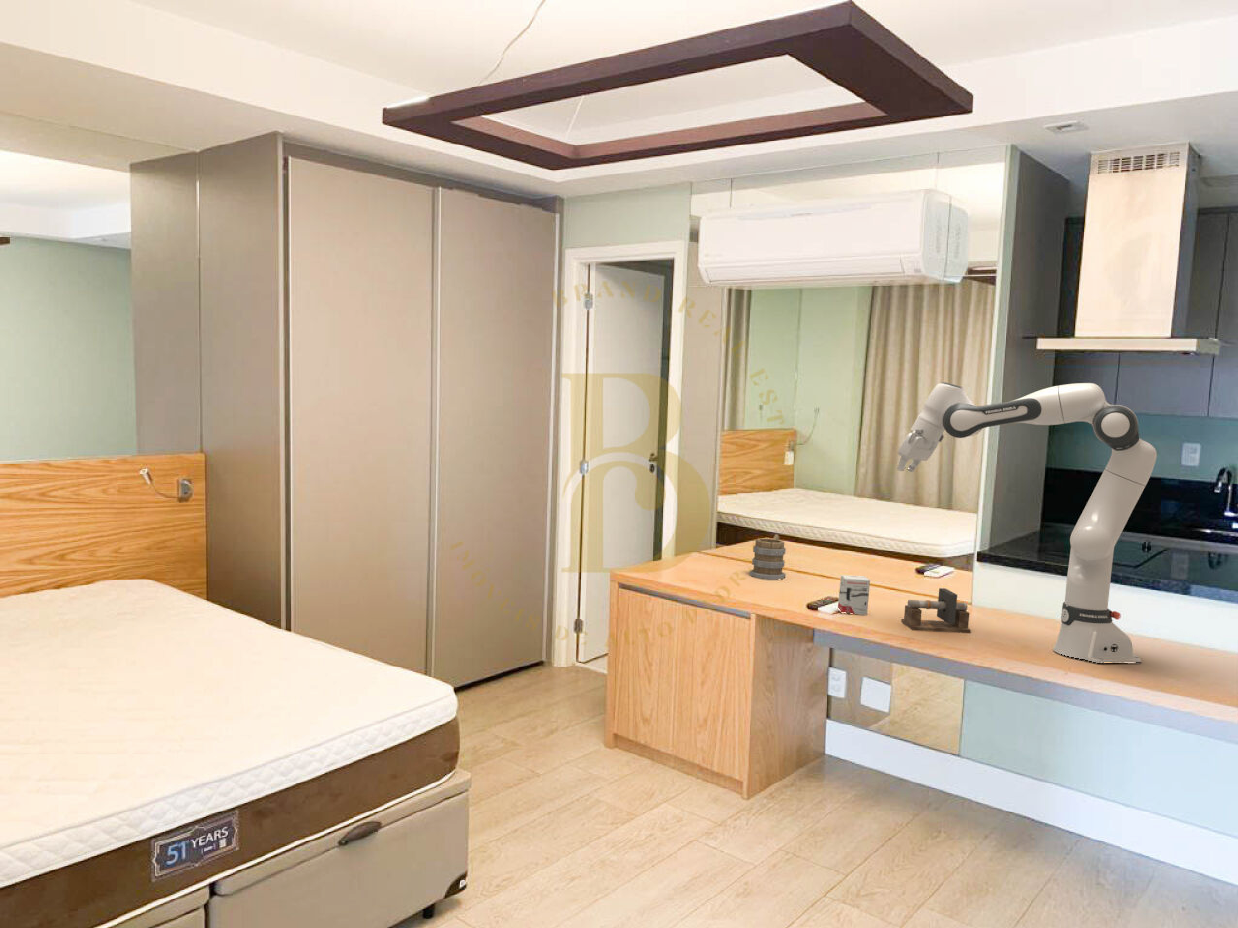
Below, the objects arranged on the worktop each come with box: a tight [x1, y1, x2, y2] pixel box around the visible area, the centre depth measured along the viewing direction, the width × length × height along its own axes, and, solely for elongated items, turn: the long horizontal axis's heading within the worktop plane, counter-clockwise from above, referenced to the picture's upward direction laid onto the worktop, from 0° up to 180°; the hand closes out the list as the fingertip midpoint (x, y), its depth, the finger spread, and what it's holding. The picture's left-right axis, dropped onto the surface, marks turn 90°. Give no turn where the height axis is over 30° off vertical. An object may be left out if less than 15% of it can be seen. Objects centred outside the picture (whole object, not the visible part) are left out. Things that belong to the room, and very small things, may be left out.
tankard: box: [748, 533, 786, 581], centre depth 354 cm, size 20×13×15 cm, turn 155°
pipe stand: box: [900, 599, 972, 634], centre depth 286 cm, size 18×10×8 cm, turn 93°
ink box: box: [837, 574, 871, 616], centre depth 299 cm, size 8×5×12 cm, turn 92°
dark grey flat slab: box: [936, 587, 958, 624], centre depth 286 cm, size 2×9×9 cm, turn 3°
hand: (904, 470), depth 285 cm, fingers open, 8 cm apart
